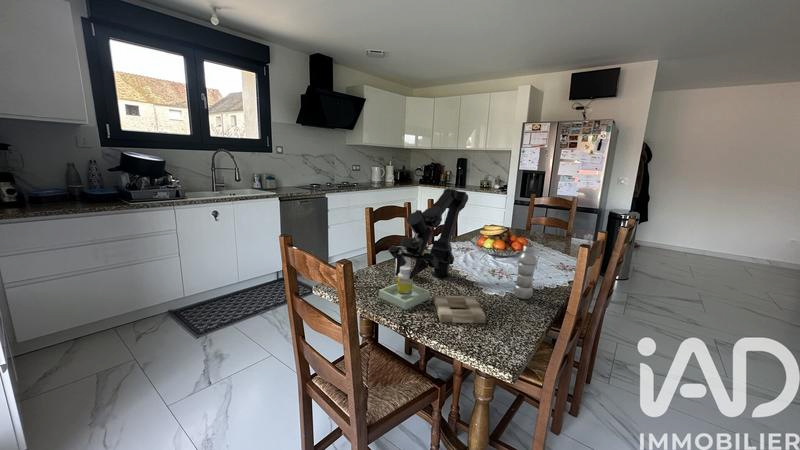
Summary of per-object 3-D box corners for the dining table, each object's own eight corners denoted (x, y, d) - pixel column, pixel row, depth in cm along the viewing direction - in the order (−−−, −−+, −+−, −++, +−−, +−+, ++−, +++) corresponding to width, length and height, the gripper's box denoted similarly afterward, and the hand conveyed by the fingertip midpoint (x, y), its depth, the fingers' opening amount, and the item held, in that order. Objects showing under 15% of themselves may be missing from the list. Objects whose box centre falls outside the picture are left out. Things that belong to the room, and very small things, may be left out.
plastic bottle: (509, 295, 119) (515, 244, 115) (522, 292, 122) (529, 243, 118) (521, 302, 113) (528, 249, 109) (535, 299, 116) (542, 247, 112)
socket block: (434, 302, 111) (434, 295, 111) (473, 302, 112) (473, 296, 111) (440, 322, 97) (440, 314, 97) (484, 323, 98) (485, 315, 97)
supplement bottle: (399, 289, 116) (399, 264, 114) (413, 291, 115) (414, 265, 113) (395, 295, 111) (396, 269, 109) (410, 297, 110) (411, 271, 108)
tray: (403, 288, 122) (403, 280, 122) (429, 299, 113) (430, 291, 113) (378, 297, 113) (379, 289, 112) (404, 310, 104) (405, 302, 104)
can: (408, 277, 133) (409, 250, 130) (393, 276, 134) (394, 249, 132) (411, 272, 139) (412, 246, 137) (397, 271, 140) (398, 245, 138)
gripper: (391, 224, 116) (372, 260, 110) (436, 232, 106) (418, 272, 99) (402, 240, 124) (385, 274, 118) (445, 249, 114) (429, 287, 108)
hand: (403, 276), depth 110 cm, fingers closed on supplement bottle, 5 cm apart
